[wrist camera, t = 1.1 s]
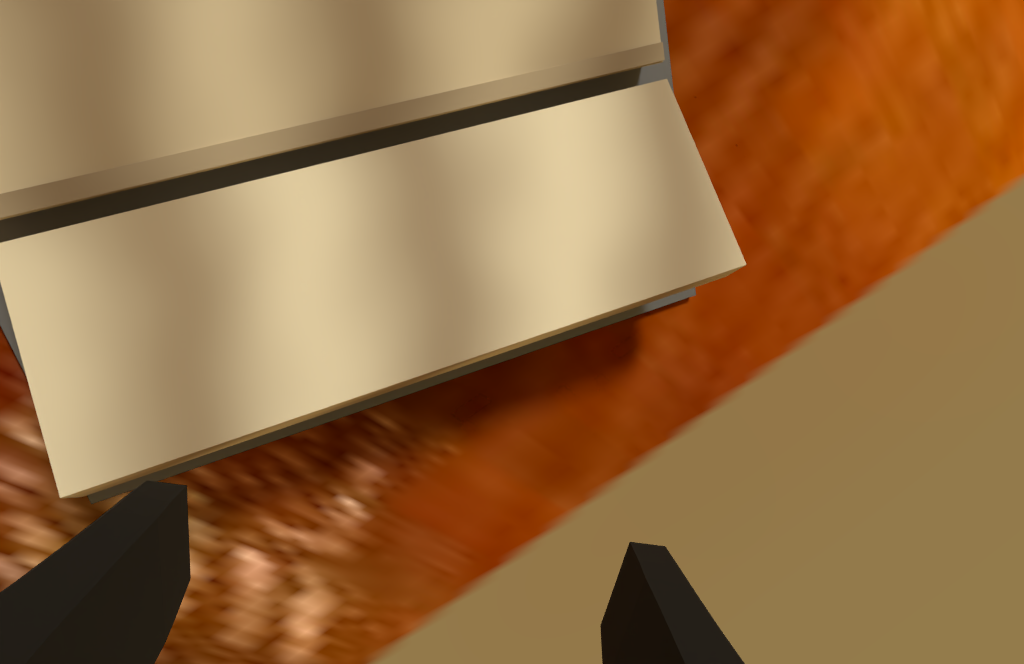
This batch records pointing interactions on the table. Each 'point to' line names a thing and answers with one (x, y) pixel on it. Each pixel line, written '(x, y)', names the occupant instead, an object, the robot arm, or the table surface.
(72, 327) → the board
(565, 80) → the fixed plank
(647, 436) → the table surface
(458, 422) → the table surface
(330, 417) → the underlay mat
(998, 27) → the table surface
